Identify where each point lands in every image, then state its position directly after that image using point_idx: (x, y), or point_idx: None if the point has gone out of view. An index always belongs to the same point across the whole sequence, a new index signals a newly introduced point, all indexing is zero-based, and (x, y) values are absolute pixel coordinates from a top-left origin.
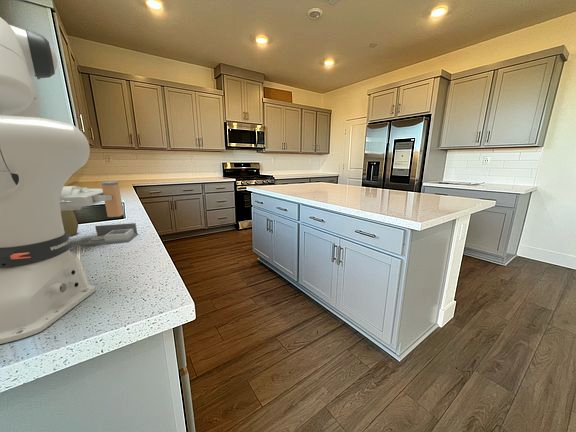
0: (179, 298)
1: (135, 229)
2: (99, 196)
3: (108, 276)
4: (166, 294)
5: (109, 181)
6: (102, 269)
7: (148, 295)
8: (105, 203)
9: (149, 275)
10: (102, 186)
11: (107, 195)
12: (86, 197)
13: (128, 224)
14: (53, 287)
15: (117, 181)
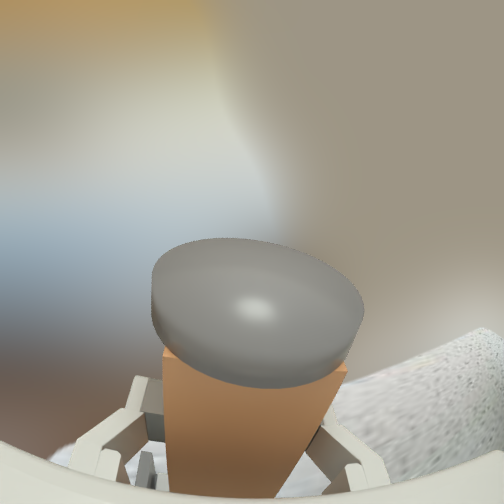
0: (482, 331)
1: (154, 468)
2: (372, 456)
3: (481, 417)
4: (483, 341)
5: (179, 286)
6: (466, 445)
7: (491, 354)
8: (279, 487)
9: (460, 367)
10: (337, 378)
11: (330, 409)
12: (498, 453)
13: (147, 480)
14: None
15: (232, 240)
